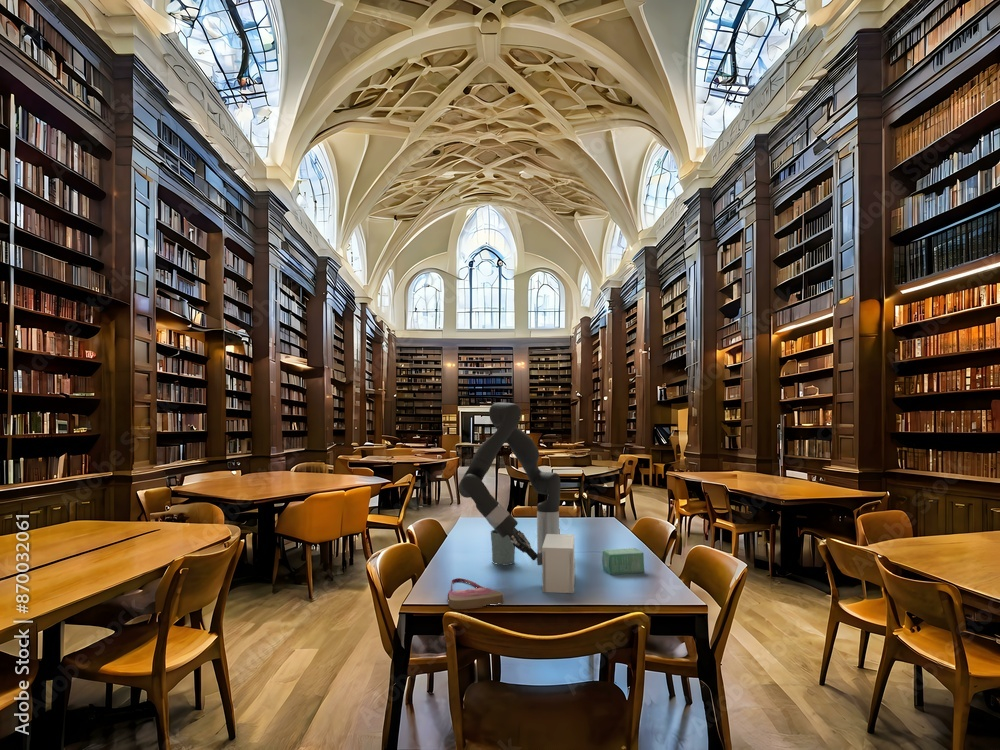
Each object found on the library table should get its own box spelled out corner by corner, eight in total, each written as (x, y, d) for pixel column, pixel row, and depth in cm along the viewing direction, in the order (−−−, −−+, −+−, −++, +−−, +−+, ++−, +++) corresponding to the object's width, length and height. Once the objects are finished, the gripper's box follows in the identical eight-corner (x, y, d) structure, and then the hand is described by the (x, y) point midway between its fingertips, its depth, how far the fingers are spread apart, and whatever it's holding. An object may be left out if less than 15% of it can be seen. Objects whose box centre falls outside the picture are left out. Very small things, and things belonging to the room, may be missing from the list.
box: (601, 569, 206) (601, 549, 206) (636, 567, 208) (635, 547, 209) (609, 575, 199) (609, 553, 199) (644, 573, 201) (644, 552, 202)
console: (546, 573, 201) (546, 533, 202) (574, 574, 199) (574, 534, 200) (542, 591, 179) (542, 547, 180) (573, 593, 177) (573, 548, 179)
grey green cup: (507, 558, 224) (507, 527, 225) (521, 563, 215) (521, 531, 216) (485, 561, 218) (485, 530, 219) (499, 567, 210) (499, 534, 211)
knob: (538, 563, 193) (538, 549, 193) (561, 563, 192) (561, 550, 192) (537, 566, 188) (537, 552, 189) (560, 567, 187) (560, 553, 188)
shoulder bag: (506, 605, 167) (479, 582, 193) (506, 595, 168) (479, 573, 194) (452, 612, 162) (431, 587, 188) (452, 601, 162) (431, 578, 188)
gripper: (506, 516, 187) (542, 555, 184) (511, 510, 200) (545, 546, 197) (490, 531, 187) (526, 570, 185) (496, 524, 201) (530, 561, 198)
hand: (536, 558), depth 191 cm, fingers closed
